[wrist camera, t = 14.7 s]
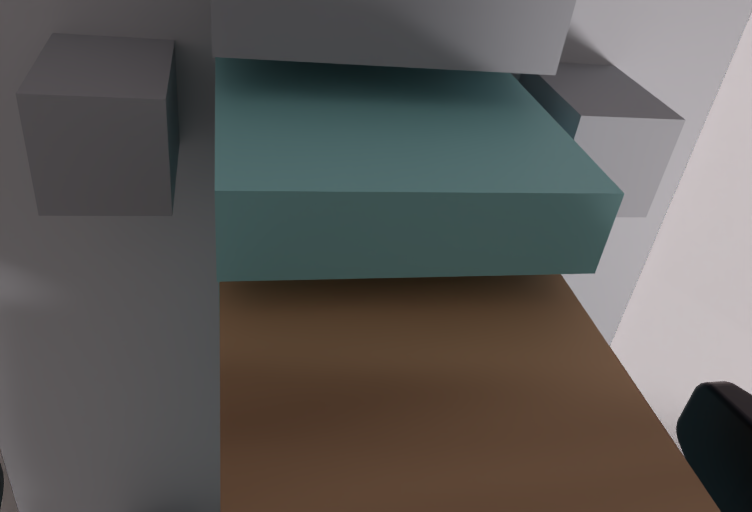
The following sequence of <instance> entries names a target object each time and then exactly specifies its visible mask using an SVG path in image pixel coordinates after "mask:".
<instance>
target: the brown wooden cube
mask: <svg viewBox="0 0 752 512" xmlns="http://www.w3.org/2000/svg"><path fill="white" fill-rule="evenodd" d="M219 293H220V512H721V511H720V510H719V508H718V507H717V505H716V504H715V502H714V501H713V499H712V498H711V496H710V495H709V493H708V492H707V490H706V489H705V487H704V486H703V484H702V483H701V481H700V480H699V478H698V477H697V475H696V474H695V472H694V471H693V469H692V468H691V466H690V465H689V464H688V462H687V461H686V459H685V458H684V456H683V455H682V453H681V452H680V450H679V449H678V447H677V446H676V444H675V443H674V441H673V440H672V438H671V437H670V435H669V434H668V432H667V431H666V429H665V428H664V426H663V425H662V423H661V422H660V420H659V419H658V417H657V416H656V415H655V413H654V412H653V410H652V409H651V407H650V406H649V404H648V403H647V401H646V400H645V398H644V397H643V395H642V394H641V392H640V391H639V389H638V388H637V386H636V385H635V383H634V382H633V380H632V379H631V377H630V376H629V374H628V373H627V371H626V370H625V368H624V367H623V365H622V364H621V363H620V361H619V360H618V358H617V357H616V355H615V354H614V352H613V351H612V349H611V348H610V346H609V345H608V343H607V342H606V340H605V339H604V337H603V336H602V334H601V333H600V331H599V330H598V328H597V327H596V325H595V324H594V322H593V321H592V319H591V318H590V316H589V315H588V313H587V312H586V311H585V309H584V308H583V306H582V305H581V303H580V302H579V300H578V299H577V297H576V296H575V294H574V293H573V291H572V290H571V288H570V287H569V285H568V284H567V282H566V281H565V279H564V278H563V276H562V275H561V274H550V275H504V276H458V277H412V278H366V279H319V280H273V281H227V282H219Z"/></svg>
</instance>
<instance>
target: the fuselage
mask: <svg viewBox="0 0 752 512" xmlns="http://www.w3.org/2000/svg"><path fill="white" fill-rule="evenodd" d="M623 196H624V192H623V191H622V190H621V189H620V188H619V187H618V186H617V185H616V184H615V183H614V182H613V181H612V180H611V179H610V178H609V177H608V176H607V175H606V173H605V172H604V171H603V170H602V169H601V168H600V167H599V166H598V165H597V164H596V163H595V162H594V161H593V160H592V159H591V158H590V157H589V156H588V154H587V153H586V152H585V151H584V150H583V149H582V148H581V147H580V146H579V145H578V144H577V143H576V142H575V141H574V140H573V139H572V138H571V137H570V135H569V134H568V133H567V132H566V131H565V130H564V129H563V128H562V127H561V126H560V125H559V124H558V123H557V122H556V121H555V120H554V119H553V117H552V116H551V115H550V114H549V113H548V112H547V111H546V110H545V109H544V108H543V107H542V106H541V105H540V104H539V103H538V102H537V101H536V100H535V98H534V97H533V96H532V95H531V94H530V93H529V92H528V91H527V90H526V89H525V88H524V87H523V86H522V85H521V84H520V83H519V82H518V81H517V79H516V78H515V77H514V76H513V75H512V74H511V73H503V72H484V71H465V70H446V69H427V68H409V67H390V66H371V65H352V64H334V63H315V62H296V61H277V60H259V59H240V58H221V57H215V232H216V276H217V282H218V286H219V282H227V281H273V280H319V279H366V278H412V277H458V276H504V275H550V274H595V272H596V269H597V266H598V264H599V261H600V258H601V256H602V253H603V250H604V248H605V245H606V242H607V240H608V237H609V234H610V231H611V229H612V226H613V223H614V221H615V218H616V215H617V213H618V210H619V207H620V205H621V202H622V199H623ZM219 334H220V293H219Z"/></svg>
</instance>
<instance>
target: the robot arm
mask: <svg viewBox="0 0 752 512" xmlns="http://www.w3.org/2000/svg"><path fill="white" fill-rule="evenodd" d="M676 432H677V438H678V441H679V443H680V446H681V449H682V451H683V454H684V456H685V459H686V461H687V462H688V464H689V465H690V466H691V468H692V469H693V471H694V472H695V474H696V475H697V477H698V478H699V480H700V481H701V483H702V484H703V486H704V487H705V489H706V490H707V492H708V493H709V495H710V496H711V498H712V499H713V501H714V502H715V504H716V505H717V507H718V508H719V510H720V511H721V512H752V395H751V394H749V393H748V392H746V391H745V390H743V389H741V388H740V387H738V386H736V385H735V384H733V383H730V382H725V381H720V382H705V383H701V384H700V385H698V386H697V387H696V388H695V390H694V391H693V393H692V395H691V397H690V399H689V401H688V402H687V404H686V406H685V408H684V410H683V412H682V413H681V415H680V417H679V419H678V421H677V426H676ZM3 487H4V477H3V470H2V467H1V463H0V507H1V502H2V496H3Z"/></svg>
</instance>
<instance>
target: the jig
mask: <svg viewBox="0 0 752 512" xmlns="http://www.w3.org/2000/svg"><path fill="white" fill-rule="evenodd" d="M751 13H752V0H0V450H1V453H2V457H3V460H4V464H5V467H6V470H7V474H8V477H9V480H10V484H11V487H12V491H13V494H14V497H15V501H16V504H17V508H18V511H19V512H220V334H219V286H218V282H217V276H216V232H215V57H221V58H240V59H259V60H277V61H296V62H315V63H334V64H352V65H371V66H390V67H409V68H427V69H446V70H465V71H484V72H503V73H511V74H512V75H513V76H514V77H515V78H516V79H517V81H518V82H519V83H520V84H521V85H522V86H523V87H524V88H525V89H526V90H527V91H528V92H529V93H530V94H531V95H532V96H533V97H534V98H535V100H536V101H537V102H538V103H539V104H540V105H541V106H542V107H543V108H544V109H545V110H546V111H547V112H548V113H549V114H550V115H551V116H552V117H553V119H554V120H555V121H556V122H557V123H558V124H559V125H560V126H561V127H562V128H563V129H564V130H565V131H566V132H567V133H568V134H569V135H570V137H571V138H572V139H573V140H574V141H575V142H576V143H577V144H578V145H579V146H580V147H581V148H582V149H583V150H584V151H585V152H586V153H587V154H588V156H589V157H590V158H591V159H592V160H593V161H594V162H595V163H596V164H597V165H598V166H599V167H600V168H601V169H602V170H603V171H604V172H605V173H606V175H607V176H608V177H609V178H610V179H611V180H612V181H613V182H614V183H615V184H616V185H617V186H618V187H619V188H620V189H621V190H622V191H623V192H624V196H623V199H622V202H621V205H620V207H619V210H618V213H617V215H616V218H615V221H614V223H613V226H612V229H611V231H610V234H609V237H608V240H607V242H606V245H605V248H604V250H603V253H602V256H601V258H600V261H599V264H598V266H597V269H596V272H595V274H561V275H562V276H563V278H564V279H565V281H566V282H567V284H568V285H569V287H570V288H571V290H572V291H573V293H574V294H575V296H576V297H577V299H578V300H579V302H580V303H581V305H582V306H583V308H584V309H585V311H586V312H587V313H588V315H589V316H590V318H591V319H592V321H593V322H594V324H595V325H596V327H597V328H598V330H599V331H600V333H601V334H602V336H603V337H604V339H605V340H606V342H607V343H608V345H609V346H610V345H611V342H612V340H613V338H614V335H615V333H616V330H617V328H618V326H619V323H620V321H621V319H622V316H623V314H624V312H625V309H626V307H627V305H628V302H629V300H630V297H631V295H632V293H633V290H634V288H635V286H636V283H637V281H638V279H639V276H640V274H641V272H642V269H643V267H644V265H645V262H646V260H647V257H648V255H649V253H650V250H651V248H652V246H653V243H654V241H655V239H656V236H657V234H658V232H659V229H660V227H661V224H662V222H663V220H664V217H665V215H666V213H667V210H668V208H669V206H670V203H671V201H672V199H673V196H674V194H675V192H676V189H677V187H678V184H679V182H680V180H681V177H682V175H683V173H684V170H685V168H686V166H687V163H688V161H689V159H690V156H691V154H692V151H693V149H694V147H695V144H696V142H697V140H698V137H699V135H700V133H701V130H702V128H703V126H704V123H705V121H706V119H707V116H708V114H709V111H710V109H711V107H712V104H713V102H714V100H715V97H716V95H717V93H718V90H719V88H720V86H721V83H722V81H723V78H724V76H725V74H726V71H727V69H728V67H729V64H730V62H731V60H732V57H733V55H734V53H735V50H736V48H737V46H738V43H739V41H740V38H741V36H742V34H743V31H744V29H745V27H746V24H747V22H748V20H749V17H750V15H751Z"/></svg>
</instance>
